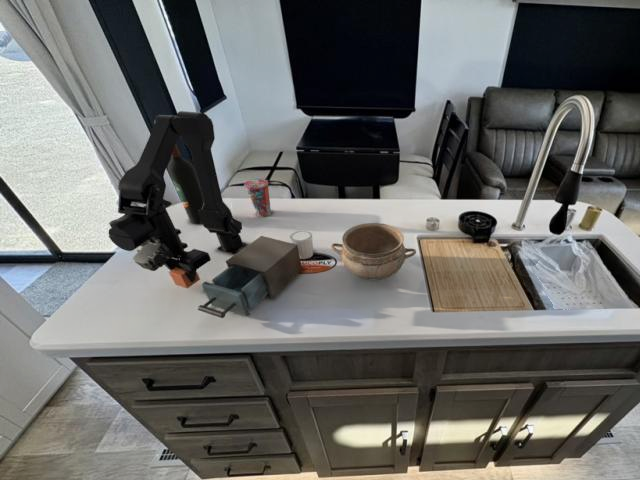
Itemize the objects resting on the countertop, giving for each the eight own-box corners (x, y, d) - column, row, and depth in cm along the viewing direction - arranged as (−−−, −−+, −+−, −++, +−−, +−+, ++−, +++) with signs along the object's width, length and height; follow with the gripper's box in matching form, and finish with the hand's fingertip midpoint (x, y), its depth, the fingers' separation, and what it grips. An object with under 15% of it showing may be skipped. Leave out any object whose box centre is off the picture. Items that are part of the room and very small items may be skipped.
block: (175, 284, 90) (168, 271, 87) (188, 275, 93) (182, 263, 90) (187, 288, 89) (181, 275, 86) (200, 279, 92) (194, 266, 89)
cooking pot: (326, 288, 94) (321, 252, 85) (340, 252, 108) (337, 219, 100) (413, 294, 93) (415, 259, 85) (415, 257, 107) (418, 224, 99)
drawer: (233, 330, 79) (223, 308, 74) (196, 317, 82) (185, 295, 77) (279, 286, 92) (273, 265, 87) (246, 277, 95) (239, 256, 90)
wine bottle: (207, 224, 119) (171, 135, 99) (186, 223, 119) (146, 135, 99) (216, 215, 124) (184, 129, 105) (196, 214, 124) (160, 128, 104)
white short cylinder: (310, 261, 103) (306, 242, 99) (290, 258, 104) (285, 239, 100) (318, 250, 108) (315, 231, 104) (299, 247, 109) (295, 228, 105)
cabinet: (272, 298, 89) (264, 272, 83) (235, 287, 92) (225, 261, 86) (302, 270, 100) (297, 244, 94) (268, 260, 103) (261, 235, 97)
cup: (251, 210, 128) (243, 180, 120) (274, 207, 131) (266, 177, 123) (253, 221, 122) (244, 190, 114) (277, 217, 125) (269, 186, 117)
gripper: (101, 236, 76) (135, 287, 87) (160, 254, 72) (188, 305, 82) (144, 216, 84) (170, 265, 95) (200, 231, 80) (221, 281, 90)
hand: (186, 279), depth 90 cm, fingers closed on block, 4 cm apart
